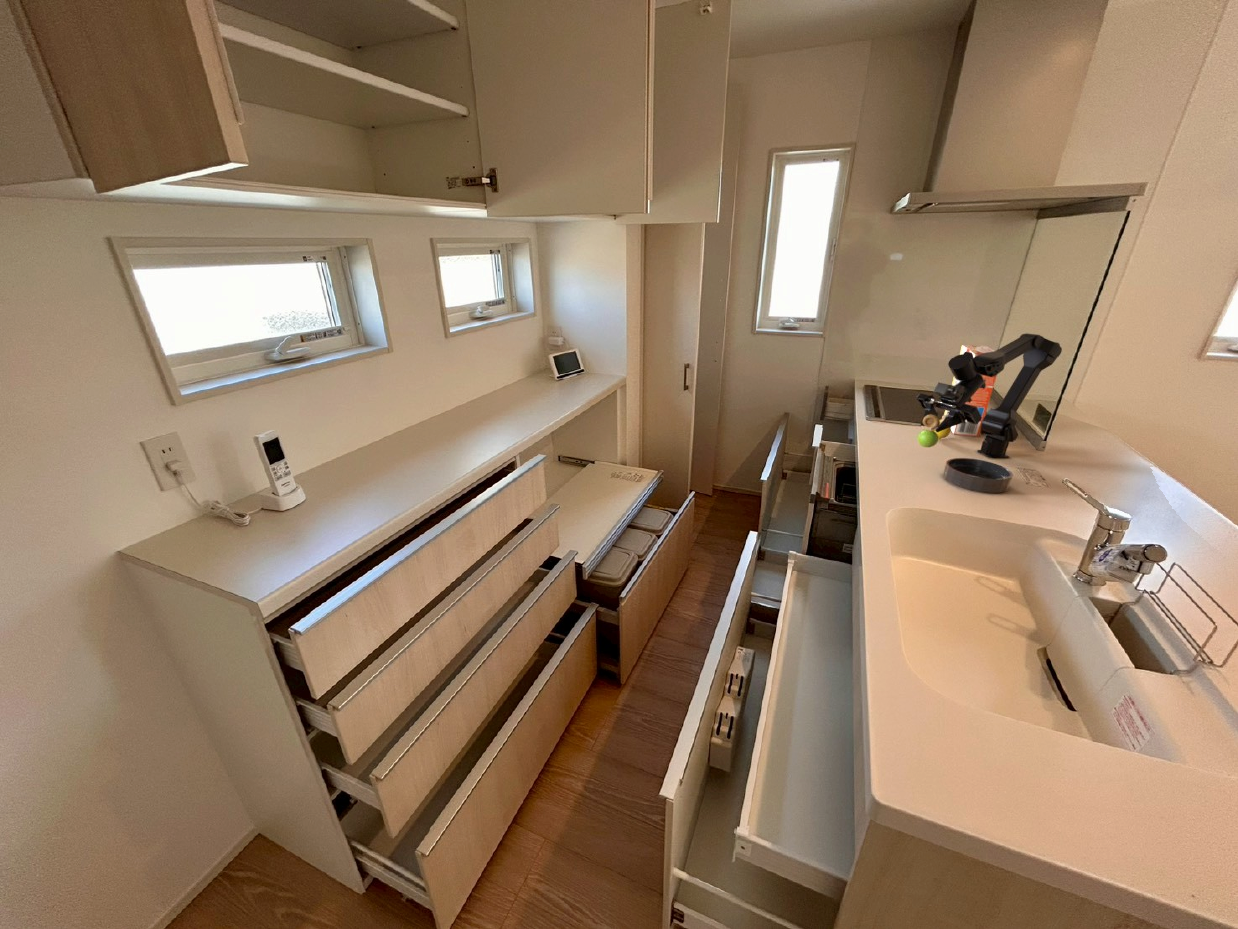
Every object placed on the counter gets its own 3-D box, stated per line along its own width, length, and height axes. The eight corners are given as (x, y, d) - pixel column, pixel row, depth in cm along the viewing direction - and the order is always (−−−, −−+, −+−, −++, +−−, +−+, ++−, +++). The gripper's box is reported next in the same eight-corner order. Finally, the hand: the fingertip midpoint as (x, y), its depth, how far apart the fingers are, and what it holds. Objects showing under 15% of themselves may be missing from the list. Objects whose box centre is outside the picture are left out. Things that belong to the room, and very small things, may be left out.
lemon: (948, 442, 179) (953, 421, 176) (930, 440, 182) (935, 419, 179) (947, 438, 184) (953, 417, 180) (930, 436, 186) (935, 415, 183)
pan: (980, 470, 156) (984, 457, 154) (1022, 493, 141) (1027, 478, 139) (930, 471, 155) (934, 458, 153) (967, 494, 140) (971, 480, 138)
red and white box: (978, 436, 185) (1002, 355, 174) (953, 434, 188) (975, 354, 177) (965, 419, 205) (986, 345, 193) (943, 417, 208) (962, 344, 196)
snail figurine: (938, 451, 151) (948, 414, 147) (914, 447, 155) (923, 410, 150) (940, 446, 155) (950, 409, 151) (917, 442, 159) (926, 406, 154)
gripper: (927, 367, 156) (893, 405, 157) (985, 379, 140) (947, 421, 140) (939, 389, 161) (906, 425, 162) (997, 403, 145) (960, 444, 146)
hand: (928, 428), depth 152 cm, fingers closed on snail figurine, 5 cm apart
